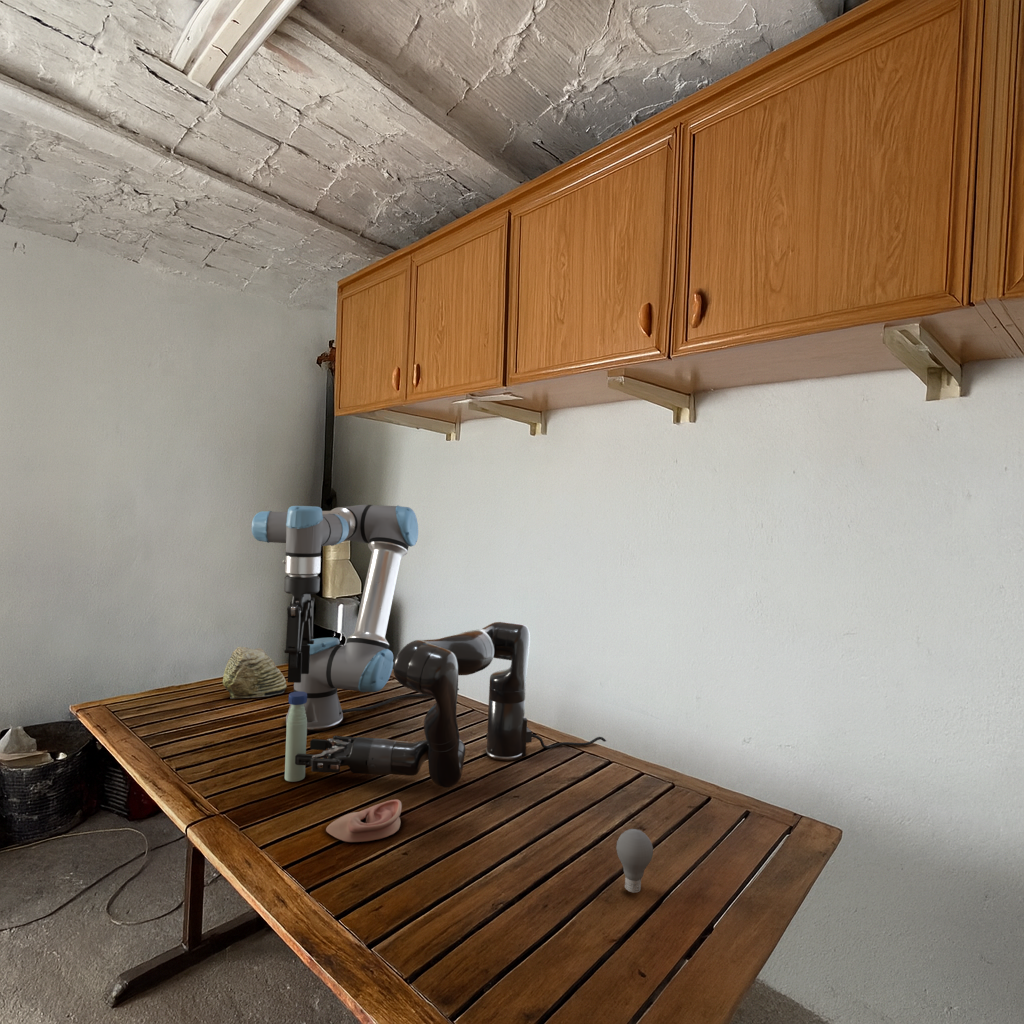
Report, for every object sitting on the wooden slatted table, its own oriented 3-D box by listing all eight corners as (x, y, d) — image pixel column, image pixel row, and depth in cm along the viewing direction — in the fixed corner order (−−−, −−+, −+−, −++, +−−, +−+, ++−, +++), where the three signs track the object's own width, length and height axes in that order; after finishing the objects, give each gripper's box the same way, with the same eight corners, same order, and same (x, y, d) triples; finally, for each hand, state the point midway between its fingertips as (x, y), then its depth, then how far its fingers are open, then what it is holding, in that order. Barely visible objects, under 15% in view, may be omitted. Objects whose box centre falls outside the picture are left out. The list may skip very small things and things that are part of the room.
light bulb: (610, 879, 108) (613, 822, 108) (644, 879, 109) (647, 822, 109) (619, 902, 102) (622, 840, 102) (655, 901, 103) (658, 840, 103)
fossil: (218, 695, 195) (220, 647, 195) (278, 685, 208) (279, 640, 207) (228, 703, 189) (230, 653, 188) (289, 692, 201) (290, 645, 201)
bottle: (284, 782, 140) (287, 699, 139) (284, 774, 144) (287, 693, 143) (305, 780, 141) (308, 698, 141) (304, 772, 145) (307, 692, 145)
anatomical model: (318, 816, 117) (346, 789, 129) (317, 837, 118) (346, 808, 129) (385, 827, 115) (408, 798, 126) (384, 848, 115) (407, 818, 126)
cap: (288, 705, 139) (288, 697, 139) (288, 700, 143) (288, 691, 143) (307, 704, 141) (307, 696, 141) (306, 698, 144) (307, 690, 144)
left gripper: (297, 569, 151) (293, 665, 151) (271, 579, 132) (267, 690, 132) (329, 570, 151) (325, 666, 152) (308, 581, 132) (304, 691, 133)
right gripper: (383, 727, 148) (315, 723, 149) (366, 752, 134) (290, 747, 135) (382, 759, 148) (314, 755, 149) (364, 787, 134) (289, 782, 135)
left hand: (298, 677), depth 142 cm, fingers open, 6 cm apart
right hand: (303, 751), depth 142 cm, fingers open, 8 cm apart
